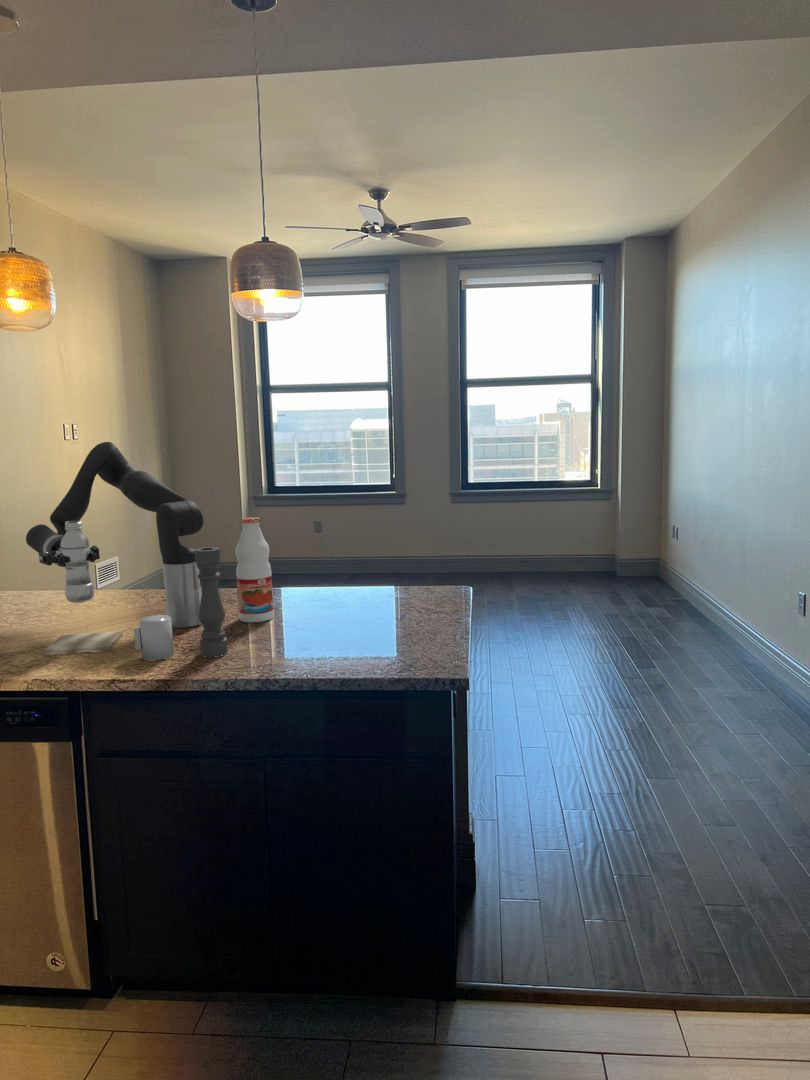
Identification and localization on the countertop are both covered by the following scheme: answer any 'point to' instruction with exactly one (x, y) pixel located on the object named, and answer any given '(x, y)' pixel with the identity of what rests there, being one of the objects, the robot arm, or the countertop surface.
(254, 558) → the fruit juice
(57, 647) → the plain beige board
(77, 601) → the plastic bottle
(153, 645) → the grey mug
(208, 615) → the candle holder
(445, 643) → the countertop surface
